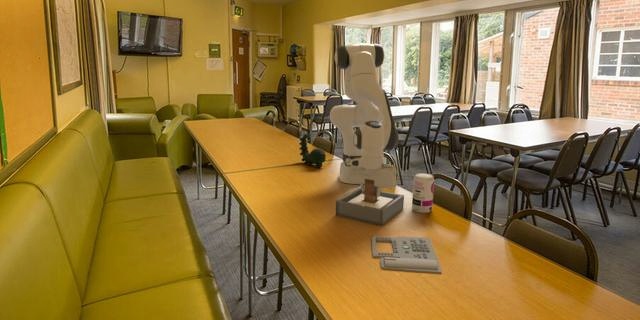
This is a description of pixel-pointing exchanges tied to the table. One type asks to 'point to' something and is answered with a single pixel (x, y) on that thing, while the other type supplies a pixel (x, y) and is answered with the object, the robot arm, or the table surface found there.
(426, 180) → the supplement can
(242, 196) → the table surface
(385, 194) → the open box
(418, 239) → the office telephone
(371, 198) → the peg
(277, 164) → the table surface
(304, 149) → the toy figurine
